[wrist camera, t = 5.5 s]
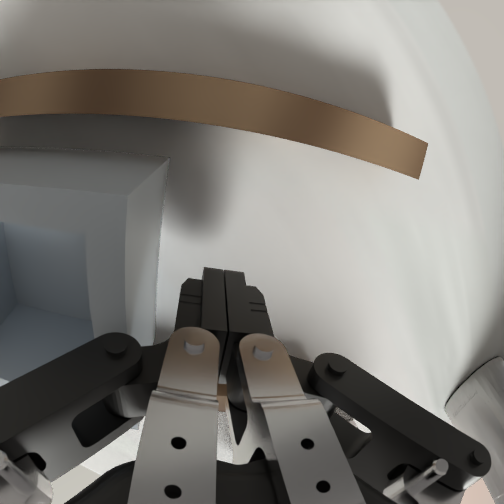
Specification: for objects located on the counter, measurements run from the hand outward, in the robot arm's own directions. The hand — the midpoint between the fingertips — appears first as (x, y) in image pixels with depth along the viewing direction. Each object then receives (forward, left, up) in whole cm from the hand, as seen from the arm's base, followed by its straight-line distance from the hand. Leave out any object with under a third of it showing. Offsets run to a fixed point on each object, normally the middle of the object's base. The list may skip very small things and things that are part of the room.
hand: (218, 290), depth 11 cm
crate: (+7, 0, -2) cm, 8 cm away
